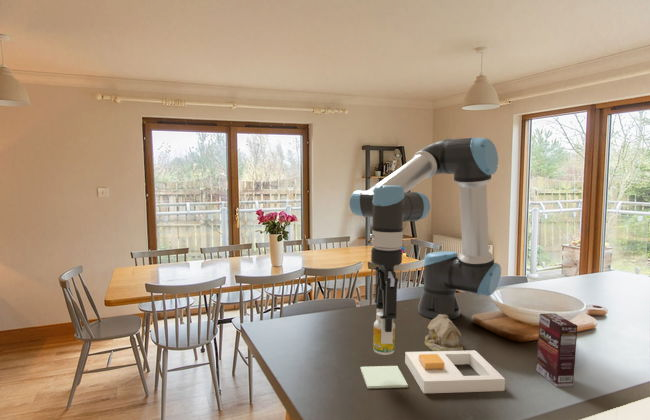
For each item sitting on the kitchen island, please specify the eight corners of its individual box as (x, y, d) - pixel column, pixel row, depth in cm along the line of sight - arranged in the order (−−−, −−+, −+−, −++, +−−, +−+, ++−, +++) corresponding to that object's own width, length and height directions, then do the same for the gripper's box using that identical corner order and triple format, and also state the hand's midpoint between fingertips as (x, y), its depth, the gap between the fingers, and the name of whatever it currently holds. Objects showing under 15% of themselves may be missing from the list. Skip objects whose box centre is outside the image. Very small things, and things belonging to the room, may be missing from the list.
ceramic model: (418, 338, 130) (419, 307, 129) (451, 336, 132) (452, 306, 131) (437, 358, 116) (438, 324, 115) (473, 356, 118) (475, 322, 117)
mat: (360, 368, 109) (360, 366, 109) (397, 367, 110) (397, 365, 110) (367, 388, 99) (367, 386, 99) (407, 387, 100) (407, 384, 100)
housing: (405, 362, 113) (405, 352, 113) (474, 360, 115) (475, 350, 114) (423, 393, 97) (424, 381, 97) (504, 390, 99) (505, 378, 99)
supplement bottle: (384, 344, 107) (385, 309, 106) (398, 352, 103) (400, 315, 102) (368, 349, 104) (369, 312, 104) (382, 357, 100) (383, 319, 99)
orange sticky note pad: (418, 370, 108) (418, 354, 107) (436, 370, 108) (437, 354, 108) (424, 380, 103) (425, 363, 102) (443, 379, 103) (444, 362, 103)
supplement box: (535, 370, 109) (538, 313, 108) (552, 370, 110) (556, 312, 108) (555, 387, 101) (560, 325, 99) (574, 387, 101) (578, 324, 100)
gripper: (365, 241, 110) (362, 325, 112) (380, 254, 92) (377, 354, 94) (392, 241, 111) (389, 324, 113) (412, 254, 93) (409, 353, 95)
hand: (384, 338), depth 103 cm, fingers closed on supplement bottle, 5 cm apart
